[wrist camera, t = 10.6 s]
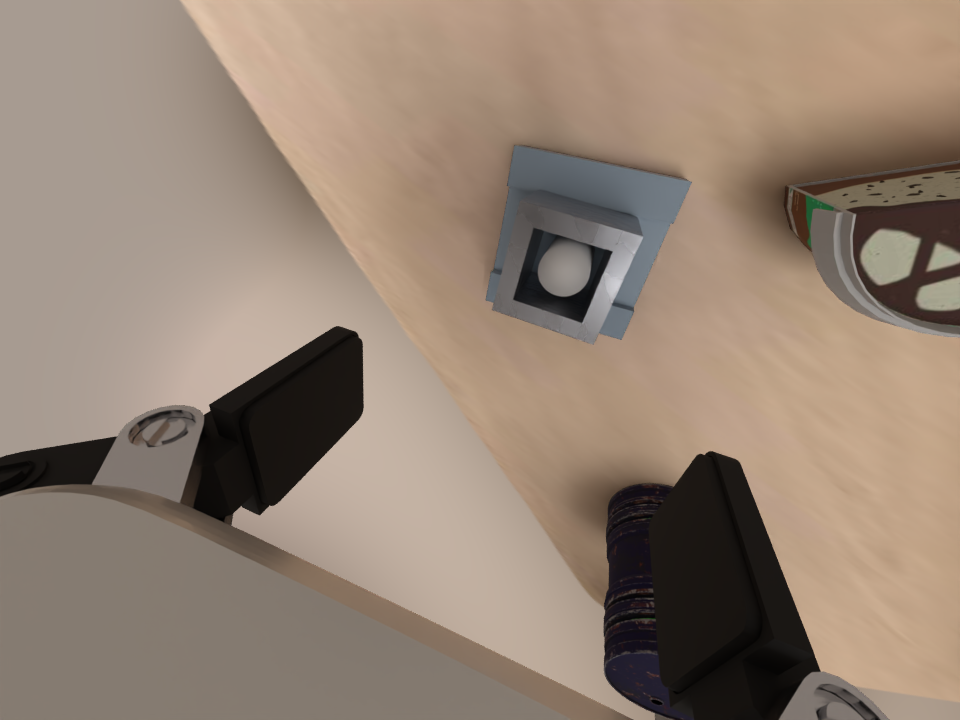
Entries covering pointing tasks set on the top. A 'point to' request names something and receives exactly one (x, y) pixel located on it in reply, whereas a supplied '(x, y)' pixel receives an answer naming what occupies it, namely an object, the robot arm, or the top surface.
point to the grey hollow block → (577, 222)
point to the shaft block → (603, 185)
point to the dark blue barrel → (634, 601)
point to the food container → (887, 243)
